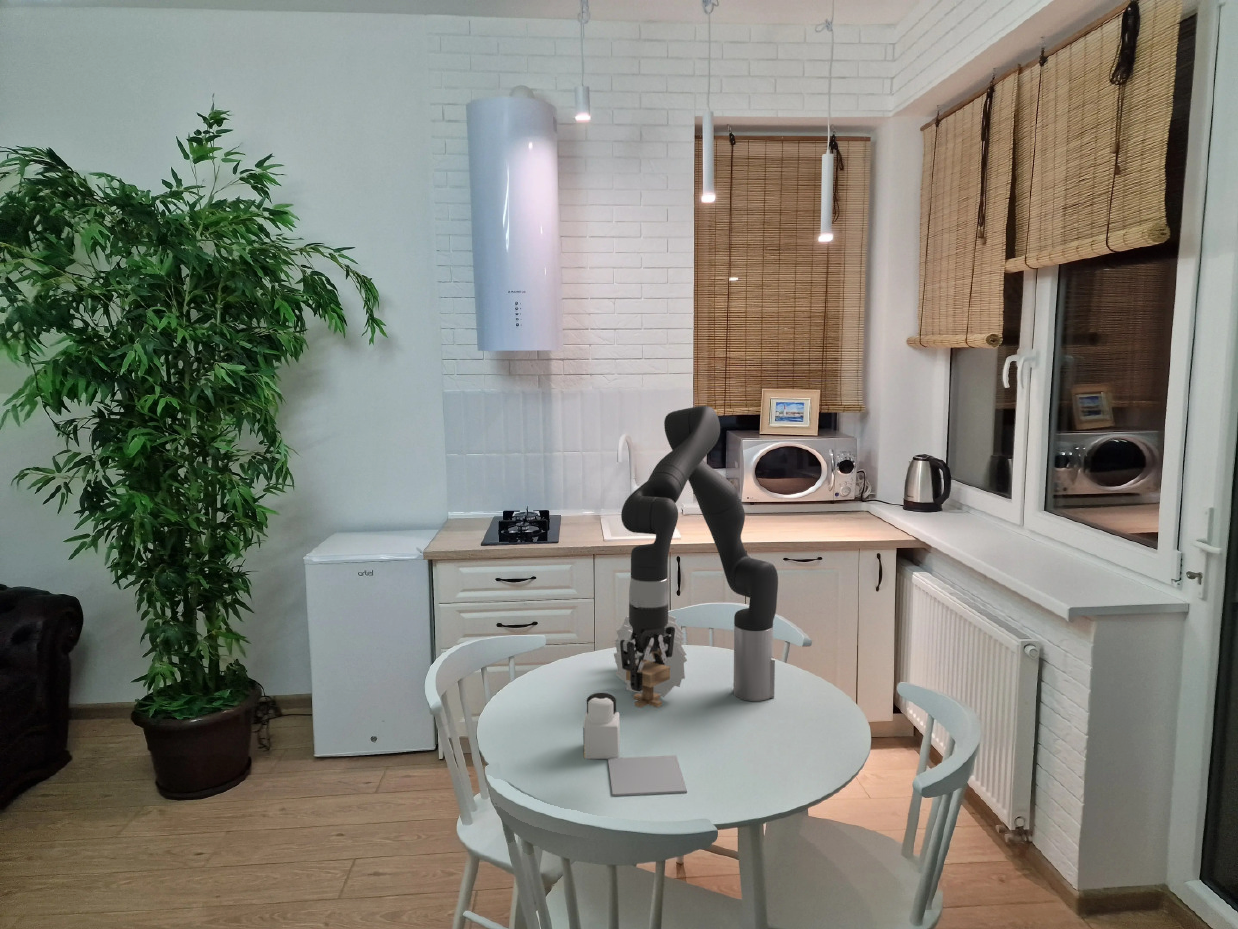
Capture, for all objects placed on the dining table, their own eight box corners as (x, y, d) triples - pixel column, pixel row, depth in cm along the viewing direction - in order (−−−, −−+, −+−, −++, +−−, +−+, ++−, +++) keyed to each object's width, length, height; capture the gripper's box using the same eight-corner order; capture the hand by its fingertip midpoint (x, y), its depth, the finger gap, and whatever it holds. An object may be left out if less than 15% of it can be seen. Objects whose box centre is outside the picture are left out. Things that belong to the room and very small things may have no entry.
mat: (676, 757, 171) (676, 755, 171) (687, 792, 157) (687, 790, 157) (608, 760, 170) (607, 758, 170) (612, 796, 156) (612, 794, 156)
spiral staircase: (664, 680, 222) (669, 716, 197) (604, 652, 221) (601, 685, 196) (694, 619, 220) (702, 647, 195) (633, 591, 220) (634, 616, 195)
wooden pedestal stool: (645, 693, 165) (646, 659, 165) (669, 702, 162) (670, 667, 161) (625, 702, 161) (626, 667, 160) (649, 711, 157) (650, 675, 156)
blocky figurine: (586, 743, 177) (585, 689, 176) (619, 743, 177) (619, 689, 176) (583, 759, 170) (582, 703, 169) (618, 759, 170) (618, 703, 168)
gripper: (657, 589, 167) (656, 670, 169) (608, 604, 156) (608, 690, 158) (687, 596, 162) (685, 680, 164) (639, 612, 151) (638, 701, 153)
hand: (647, 685), depth 161 cm, fingers closed on wooden pedestal stool, 6 cm apart
